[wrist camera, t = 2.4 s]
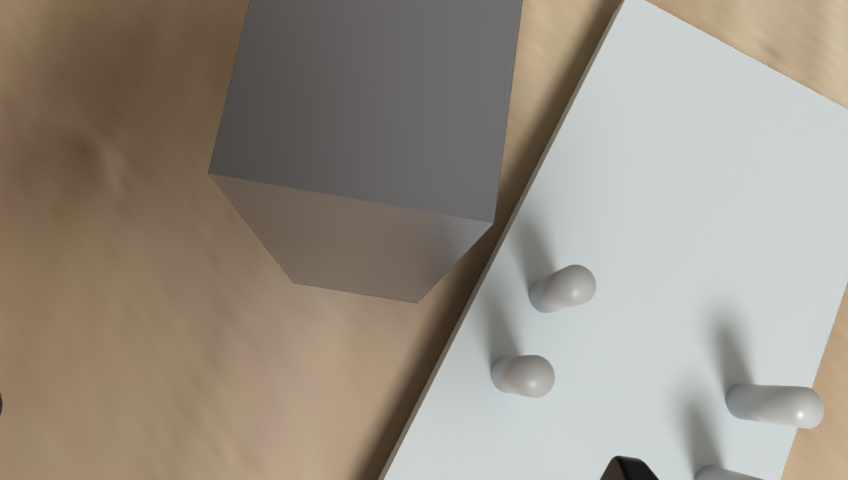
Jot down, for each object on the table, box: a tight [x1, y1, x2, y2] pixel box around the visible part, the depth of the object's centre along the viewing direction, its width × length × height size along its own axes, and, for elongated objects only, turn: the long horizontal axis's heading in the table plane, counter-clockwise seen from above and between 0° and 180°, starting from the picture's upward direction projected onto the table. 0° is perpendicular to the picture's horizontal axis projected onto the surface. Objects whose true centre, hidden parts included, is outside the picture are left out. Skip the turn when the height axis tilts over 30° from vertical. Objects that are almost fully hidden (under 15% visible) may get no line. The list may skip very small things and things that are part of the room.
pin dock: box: [378, 0, 848, 480], centre depth 20 cm, size 22×12×4 cm, turn 152°
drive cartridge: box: [208, 0, 523, 303], centre depth 16 cm, size 6×4×12 cm
